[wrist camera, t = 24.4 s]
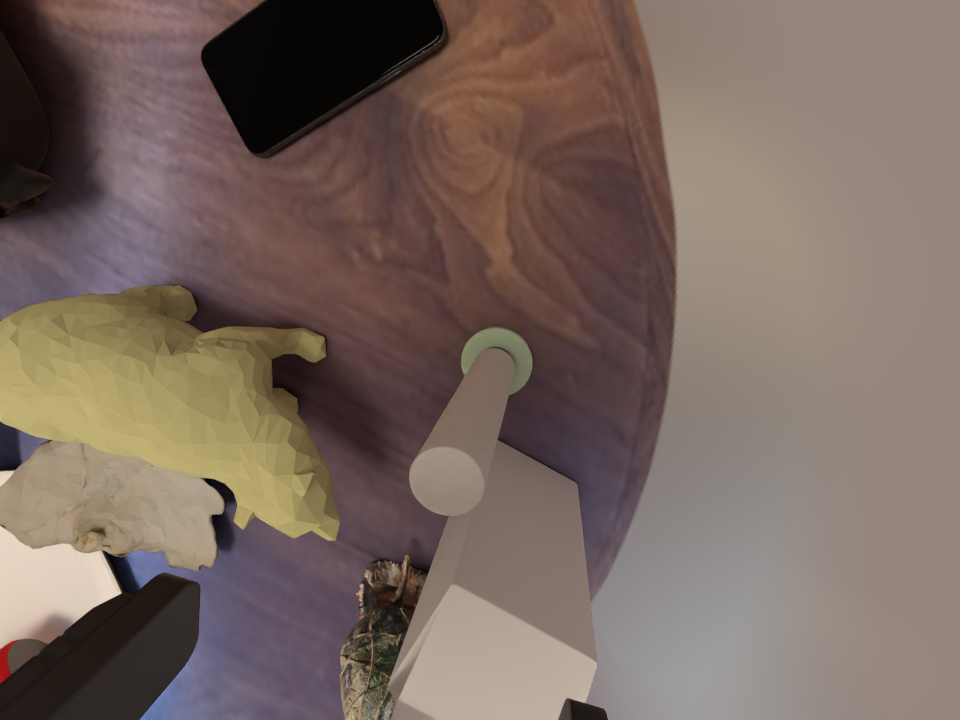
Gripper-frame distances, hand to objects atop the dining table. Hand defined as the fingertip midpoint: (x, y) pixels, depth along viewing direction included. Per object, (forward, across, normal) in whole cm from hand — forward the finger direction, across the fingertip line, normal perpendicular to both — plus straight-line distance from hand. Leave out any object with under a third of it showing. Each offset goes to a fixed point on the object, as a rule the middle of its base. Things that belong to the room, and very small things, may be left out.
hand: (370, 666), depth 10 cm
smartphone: (+24, +15, -17) cm, 33 cm away
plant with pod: (+24, +3, +22) cm, 33 cm away
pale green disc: (+24, 0, 0) cm, 24 cm away
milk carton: (+24, -3, +10) cm, 26 cm away
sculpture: (+24, +18, +5) cm, 30 cm away
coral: (+20, +28, +19) cm, 39 cm away
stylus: (+23, 0, 0) cm, 23 cm away
